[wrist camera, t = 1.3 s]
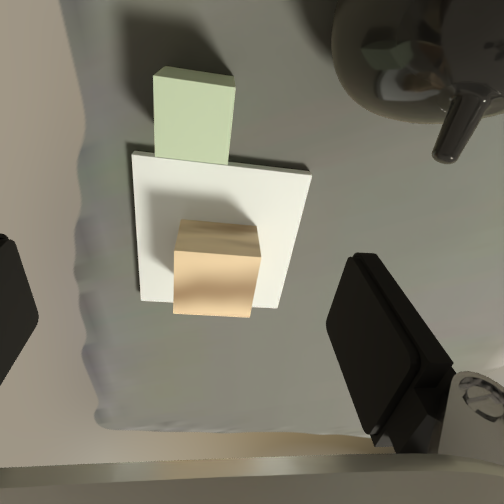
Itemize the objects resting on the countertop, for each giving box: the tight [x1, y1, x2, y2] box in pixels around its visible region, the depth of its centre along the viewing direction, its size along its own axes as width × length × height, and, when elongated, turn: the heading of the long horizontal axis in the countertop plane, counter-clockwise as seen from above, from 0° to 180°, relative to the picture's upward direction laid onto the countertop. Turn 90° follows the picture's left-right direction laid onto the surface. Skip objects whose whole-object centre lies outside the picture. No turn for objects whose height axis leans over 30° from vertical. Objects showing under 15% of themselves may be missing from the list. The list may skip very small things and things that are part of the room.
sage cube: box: [153, 66, 236, 165], centre depth 24 cm, size 5×5×5 cm
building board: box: [132, 151, 312, 308], centre depth 32 cm, size 16×15×1 cm
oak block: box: [173, 219, 262, 317], centre depth 30 cm, size 7×7×5 cm
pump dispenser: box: [331, 0, 504, 164], centre depth 17 cm, size 10×10×15 cm
